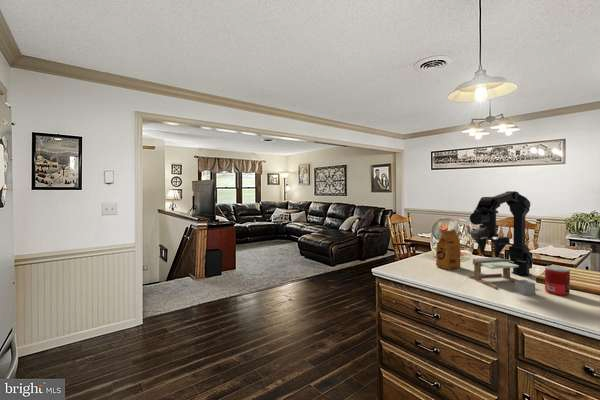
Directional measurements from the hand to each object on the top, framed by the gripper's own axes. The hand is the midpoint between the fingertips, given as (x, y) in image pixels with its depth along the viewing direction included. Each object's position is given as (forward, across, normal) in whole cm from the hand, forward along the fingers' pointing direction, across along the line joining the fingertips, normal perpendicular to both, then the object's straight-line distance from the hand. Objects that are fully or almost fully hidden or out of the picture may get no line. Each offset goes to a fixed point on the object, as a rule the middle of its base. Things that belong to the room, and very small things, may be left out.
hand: (489, 255), depth 140 cm
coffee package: (+14, -29, -3) cm, 32 cm away
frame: (+14, 0, +5) cm, 14 cm away
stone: (+14, +15, +5) cm, 21 cm away
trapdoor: (+6, -2, +5) cm, 8 cm away
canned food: (+14, +17, +18) cm, 28 cm away
